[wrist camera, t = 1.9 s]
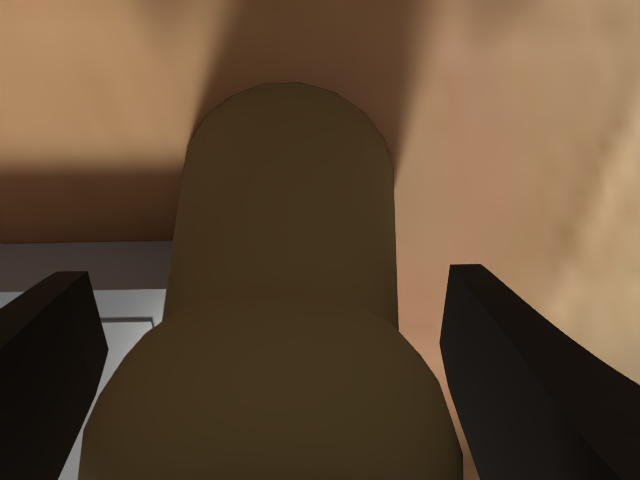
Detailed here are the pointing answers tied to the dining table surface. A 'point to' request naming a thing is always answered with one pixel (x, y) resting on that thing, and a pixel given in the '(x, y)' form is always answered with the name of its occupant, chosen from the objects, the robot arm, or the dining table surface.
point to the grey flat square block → (97, 293)
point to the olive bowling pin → (277, 315)
